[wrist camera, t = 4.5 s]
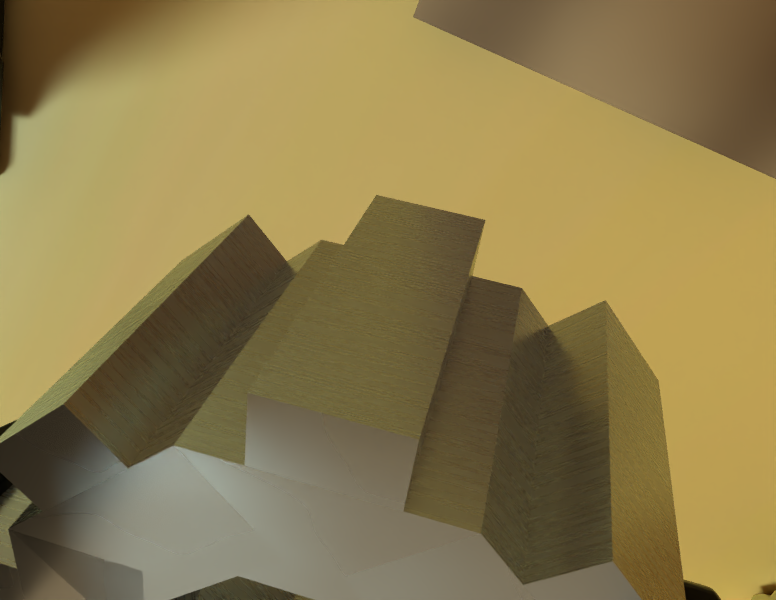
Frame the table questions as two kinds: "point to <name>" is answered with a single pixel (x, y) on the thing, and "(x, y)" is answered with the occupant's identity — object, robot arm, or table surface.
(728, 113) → the gear board
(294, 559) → the loose gear
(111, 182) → the table surface
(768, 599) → the pneumatic valve
